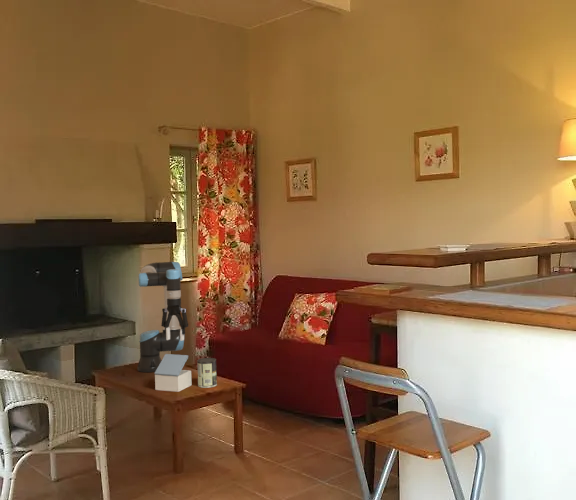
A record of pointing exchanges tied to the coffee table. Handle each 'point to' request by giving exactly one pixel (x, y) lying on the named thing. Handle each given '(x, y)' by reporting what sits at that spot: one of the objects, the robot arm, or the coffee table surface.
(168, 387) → the box
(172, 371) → the lid
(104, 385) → the coffee table surface
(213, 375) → the coffee can
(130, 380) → the coffee table surface
